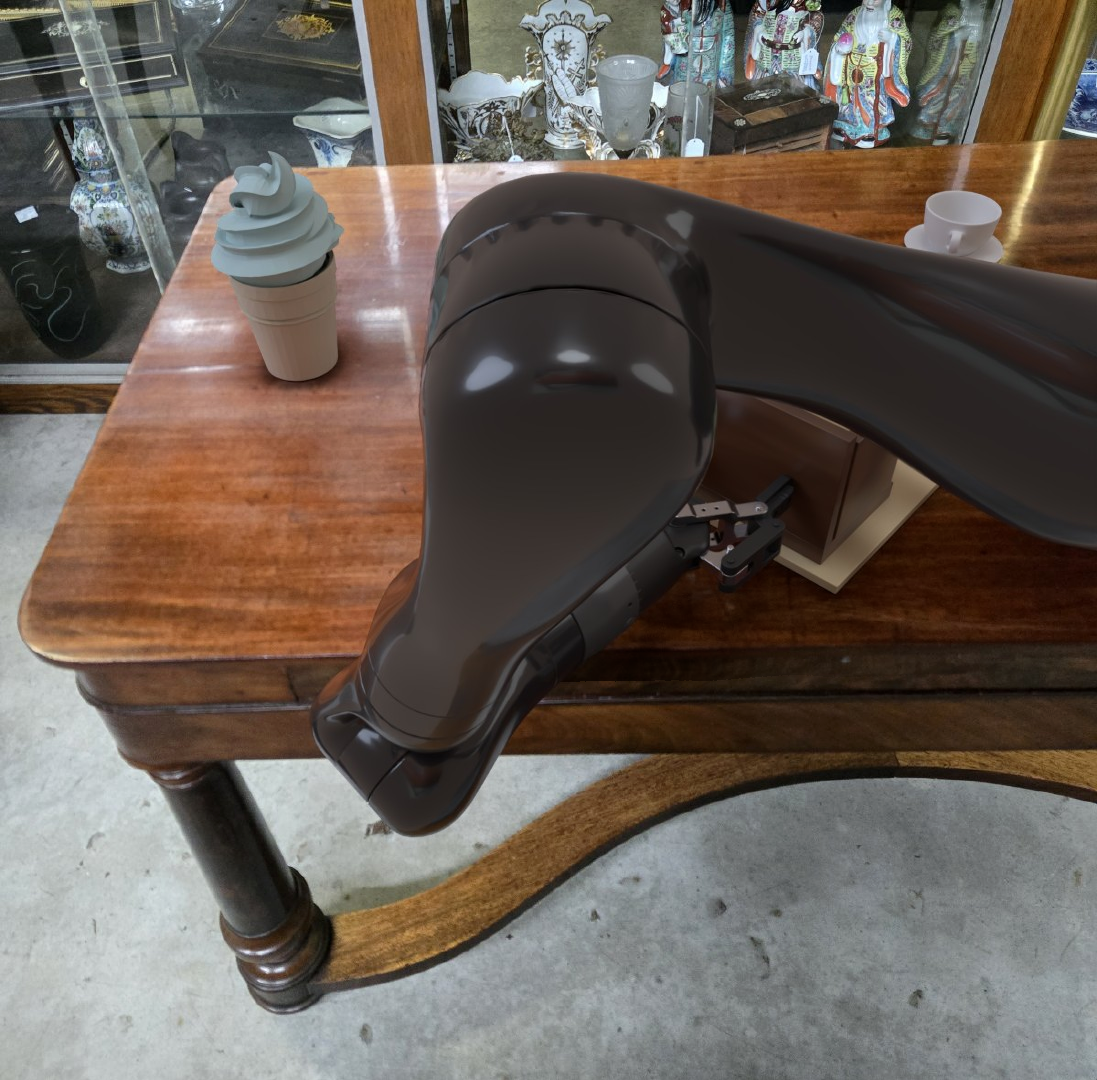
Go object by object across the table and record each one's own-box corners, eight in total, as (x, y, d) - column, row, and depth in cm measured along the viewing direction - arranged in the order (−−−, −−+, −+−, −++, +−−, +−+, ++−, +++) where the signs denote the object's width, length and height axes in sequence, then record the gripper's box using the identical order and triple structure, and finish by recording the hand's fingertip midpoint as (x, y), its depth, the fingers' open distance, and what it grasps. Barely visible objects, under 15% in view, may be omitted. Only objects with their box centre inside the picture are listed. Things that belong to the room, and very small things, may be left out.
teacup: (909, 219, 114) (919, 178, 110) (1005, 234, 111) (1018, 193, 108) (896, 263, 107) (907, 221, 104) (998, 280, 104) (1012, 237, 101)
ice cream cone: (247, 336, 99) (194, 129, 85) (364, 328, 100) (330, 122, 86) (235, 399, 92) (174, 185, 78) (361, 390, 93) (323, 176, 79)
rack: (820, 565, 75) (849, 442, 67) (647, 470, 83) (655, 349, 75) (889, 496, 80) (924, 374, 72) (720, 413, 88) (735, 294, 80)
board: (835, 594, 74) (837, 586, 74) (619, 473, 84) (620, 466, 84) (1009, 414, 89) (1011, 406, 88) (808, 329, 99) (809, 321, 98)
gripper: (684, 596, 61) (831, 461, 69) (508, 489, 68) (662, 378, 76) (675, 676, 66) (813, 541, 74) (513, 569, 73) (656, 457, 81)
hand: (737, 459), depth 75 cm, fingers open, 8 cm apart
